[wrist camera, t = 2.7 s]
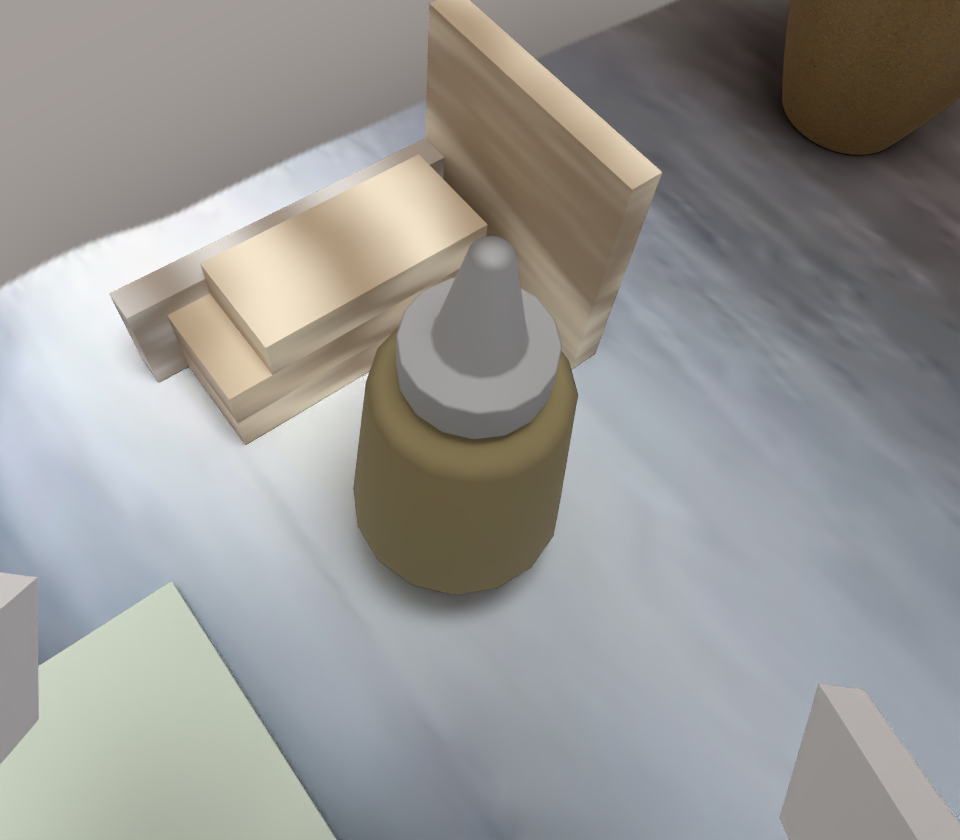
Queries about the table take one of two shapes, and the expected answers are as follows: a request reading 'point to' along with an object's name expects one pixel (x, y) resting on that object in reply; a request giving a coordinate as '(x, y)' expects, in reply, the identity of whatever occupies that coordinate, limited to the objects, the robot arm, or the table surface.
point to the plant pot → (869, 69)
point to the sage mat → (150, 743)
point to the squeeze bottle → (466, 430)
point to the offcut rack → (406, 236)
